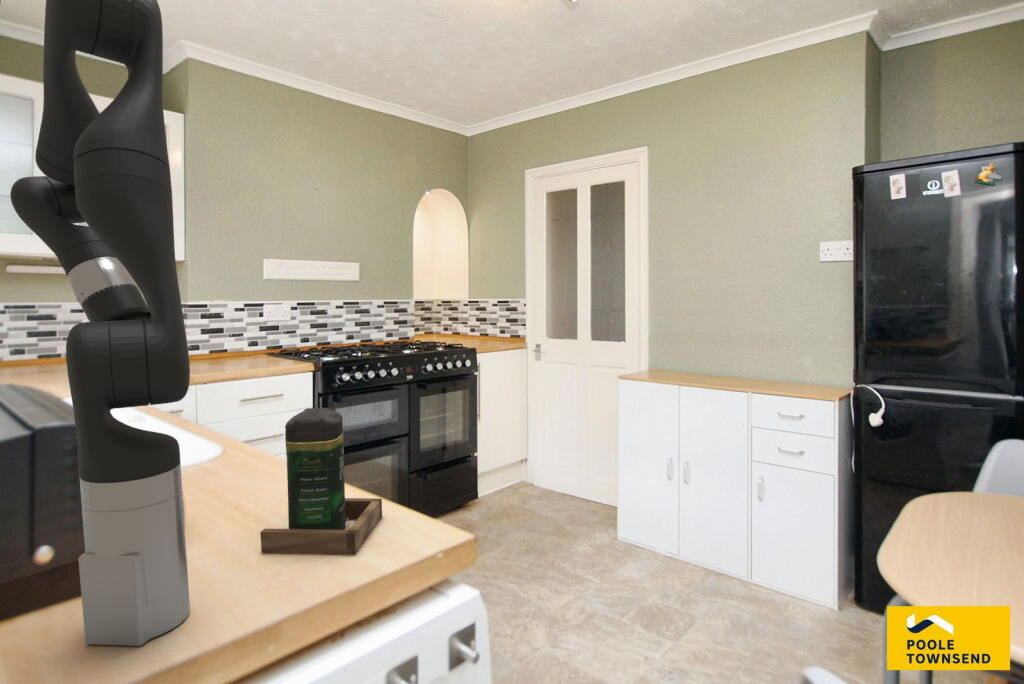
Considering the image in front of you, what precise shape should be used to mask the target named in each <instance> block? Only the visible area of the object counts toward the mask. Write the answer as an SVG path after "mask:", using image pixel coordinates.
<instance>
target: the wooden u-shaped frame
mask: <svg viewBox="0 0 1024 684" xmlns="http://www.w3.org/2000/svg"><path fill="white" fill-rule="evenodd" d="M382 499H383V498H364V497H363V498H360V497H359V498H357V497H355V498H354V497H345V514H346V520H353V519H357V520H355V521H354V523H353V524H351V526H350V527H349V529H344V530H329V529H289V528H266V527H265V528H263V529H262V530H261V531H260V532H259V534H260V547H261V548H260V549H261V554H293V553H297V555H298V554H301V553H302V555H304V554H305V553H306V554H305V555H310V554H309V553H312V554H311V555H314V554H313V553H318V554H317V555H346V554H355V555H356V554H357V553H358V552H359V550H360V549H359V548H361V547H362V546H361V545H363V544H364V543H365V542H366V541H367V539H368V537H369V536H370V535H371V533H372V532H373V531H374V529H375V528H376V527H377V525H378V524H379V522H380V521H381V519H382V518H383V505H382V503H383V501H382ZM347 518H348V519H347ZM372 530H373V531H372ZM369 534H370V535H369ZM364 541H365V542H364ZM363 542H364V543H363ZM358 549H359V550H358ZM262 552H263V553H262ZM356 552H357V553H356ZM303 553H304V554H303ZM307 553H308V554H307ZM319 553H320V554H319ZM321 553H322V554H321Z"/></svg>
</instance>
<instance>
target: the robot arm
mask: <svg viewBox="0 0 1024 684" xmlns="http://www.w3.org/2000/svg"><path fill="white" fill-rule="evenodd" d="M44 8H45V10H44V32H43V33H44V35H43V61H42V62H43V63H42V64H43V66H42V67H43V70H42V71H43V72H42V73H43V75H42V79H43V80H42V81H43V84H42V85H43V105H42V106H43V107H42V116H41V123H40V127H39V133H38V138H37V143H36V149H35V155H34V156H35V163H36V167H37V168H38V169H39V170H40V171H41V173H42V174H43V175H42V176H41V175H39V176H37V175H36V176H26V177H25V176H24V177H21V178H19V179H17V180H16V181H15V182H14V183H13V185H12V186H11V187H10V188H11V189H10V197H9V198H10V203H11V205H12V207H13V209H14V211H15V213H16V214H17V216H18V217H19V219H20V220H21V221H22V222H23V223H24V224H25V225H26V226H27V227H28V228H29V230H31V231H32V232H33V233H34V234H35V235H36V236H37V237H38V238H39V239H40V240H41V241H42V242H43V243H44V244H45V245H46V247H48V248H49V250H51V252H53V253H54V255H55V256H56V258H57V260H58V262H59V264H60V266H61V267H62V269H63V271H64V272H65V274H66V276H67V278H68V281H69V283H70V286H71V289H72V292H73V293H74V296H75V298H76V301H77V303H79V305H80V307H81V308H82V311H83V312H84V315H85V316H86V318H87V319H88V321H84V322H79V323H76V324H74V326H72V327H71V329H70V330H69V333H68V335H67V338H66V344H65V362H66V363H65V364H66V369H67V370H66V371H67V377H68V379H67V380H68V384H69V389H70V395H71V396H70V397H71V402H72V410H73V417H74V425H75V433H76V434H75V435H76V446H77V456H78V457H77V459H78V460H77V461H78V465H77V466H78V476H79V477H78V478H79V486H80V487H79V488H80V489H79V490H80V500H81V511H82V512H81V513H82V515H81V517H82V525H83V527H82V528H83V539H84V541H83V542H84V549H85V550H84V551H85V552H84V553H82V554H81V555H80V556H79V557H78V567H79V568H78V569H79V582H80V592H81V593H80V595H81V605H82V615H83V616H82V617H83V618H82V619H83V627H84V628H83V629H84V631H83V632H84V640H85V641H84V642H85V644H86V645H98V646H99V645H101V646H106V645H107V646H135V647H141V646H142V645H144V644H146V643H147V642H148V641H150V640H151V639H154V638H155V637H158V636H161V635H164V634H165V633H168V632H169V631H171V630H173V629H174V628H176V627H177V626H179V625H181V624H182V622H184V621H185V620H186V619H187V617H188V616H189V614H190V610H191V604H190V603H191V602H190V589H189V587H190V586H189V574H188V561H187V559H188V557H187V546H186V545H187V543H186V530H185V529H186V528H185V514H184V513H185V512H184V499H183V498H184V497H183V481H182V480H183V478H182V465H181V449H180V444H179V442H178V440H177V439H176V438H175V437H174V436H172V435H169V434H167V433H162V432H156V431H152V430H146V429H142V428H138V427H133V426H132V425H128V424H126V423H124V422H123V421H120V420H118V419H117V418H115V417H114V416H113V414H112V412H111V411H112V410H114V409H126V408H136V407H145V406H146V407H147V406H149V405H150V406H153V405H164V404H166V405H167V404H172V403H177V402H180V401H183V399H184V398H185V397H186V396H187V394H188V391H189V387H190V381H191V378H190V377H191V367H190V366H191V365H190V354H189V347H188V340H187V333H186V325H185V320H184V313H183V307H182V305H183V304H182V300H181V299H182V298H181V293H180V286H179V278H178V273H177V272H178V271H177V262H176V253H175V251H176V249H175V233H174V232H175V231H174V230H175V229H174V225H175V224H174V206H173V205H174V204H173V191H172V190H173V189H172V178H171V177H172V176H171V167H170V159H169V153H168V152H169V151H168V143H167V134H166V127H165V126H166V125H165V115H164V113H165V112H164V90H163V89H164V83H163V82H164V81H163V80H164V78H163V75H164V73H163V71H164V70H163V67H164V65H163V64H164V63H163V62H164V61H163V60H164V58H163V56H164V55H163V54H164V52H163V50H164V42H163V41H164V39H163V38H164V37H163V35H164V34H163V19H162V11H161V8H160V5H159V3H158V0H45V7H44ZM76 52H80V53H84V54H87V55H90V56H94V57H98V58H101V59H103V60H109V61H112V62H115V63H118V64H122V65H124V66H125V67H126V69H127V75H128V76H127V80H126V82H125V84H124V85H123V87H122V88H121V90H120V91H119V92H118V94H117V95H116V97H115V98H114V99H113V100H112V101H111V102H110V103H109V104H108V105H107V106H106V107H105V108H104V109H103V110H102V111H101V112H99V109H98V108H97V106H96V105H95V102H94V101H93V99H92V98H91V97H92V96H90V94H89V92H88V90H87V89H86V87H85V85H84V83H83V80H82V79H81V76H80V73H79V71H78V67H77V63H76V61H77V60H76ZM83 223H86V224H87V225H80V224H83Z"/></svg>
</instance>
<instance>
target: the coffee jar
mask: <svg viewBox="0 0 1024 684" xmlns="http://www.w3.org/2000/svg"><path fill="white" fill-rule="evenodd" d="M284 428H285V434H284V435H285V440H284V441H285V453H286V454H285V455H286V475H287V476H286V477H287V500H288V501H287V507H288V509H287V512H288V513H287V515H288V517H287V518H288V529H329V530H345V527H346V524H347V523H346V522H347V521H346V520H347V519H346V514H345V498H346V496H345V495H346V492H345V491H346V489H345V486H346V485H345V484H346V483H345V457H344V456H345V455H344V454H345V451H344V450H345V449H344V429H343V428H344V427H343V416H342V414H341V413H340V412H338V411H336V410H334V408H331V407H312V408H311V407H309V408H305V409H304V410H303V411H301V412H298V413H297V414H295V415H294V416H292V417H291V418H290V419H289V420H288V421H287V422H286V423H285V426H284Z"/></svg>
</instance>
